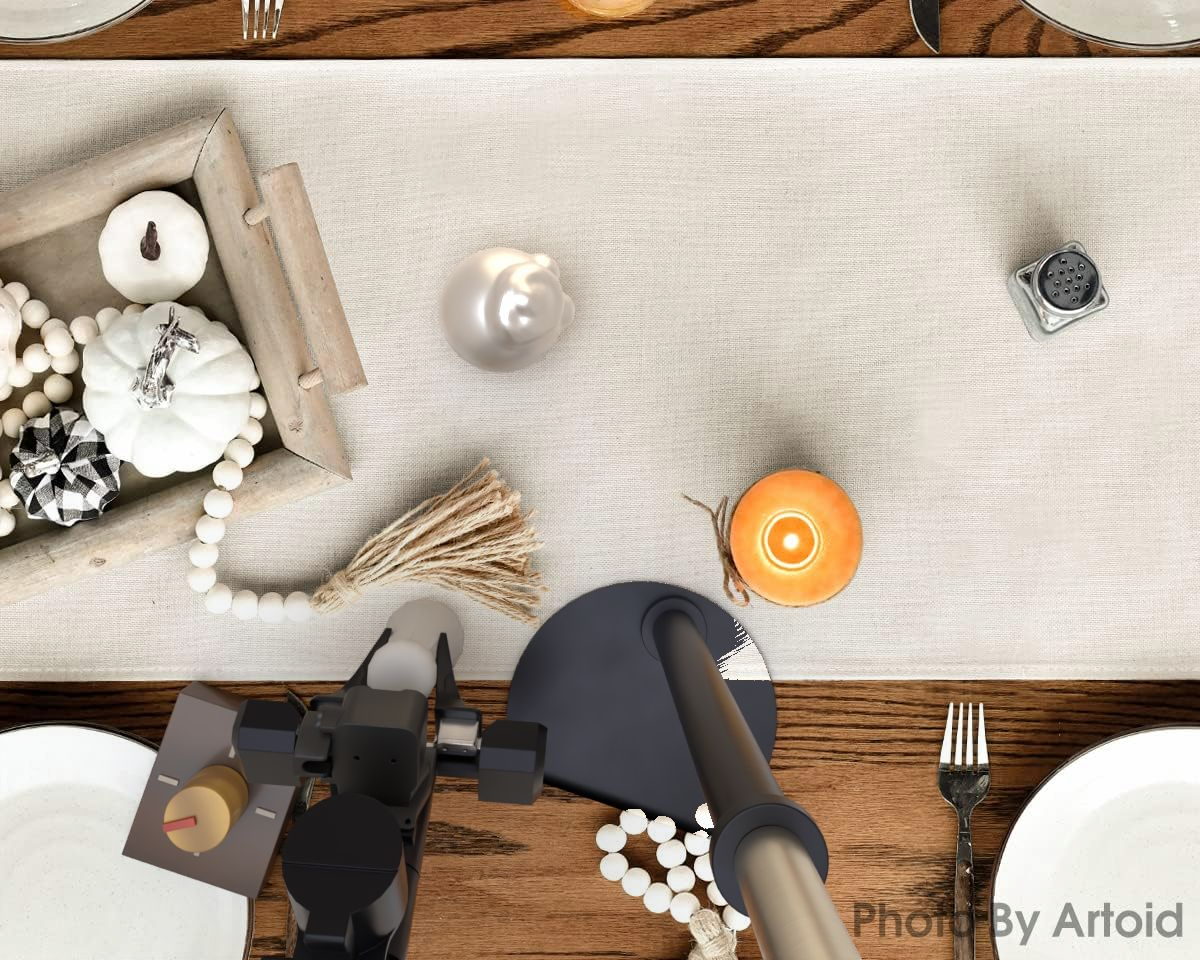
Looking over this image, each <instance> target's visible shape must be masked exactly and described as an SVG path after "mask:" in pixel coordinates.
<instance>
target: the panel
mask: <svg viewBox="0 0 1200 960" xmlns="http://www.w3.org/2000/svg"><path fill="white" fill-rule="evenodd" d="M247 699H249V698H247V697H244V696H241V695H239V694H235V693H233V692H230V691H227V690H225V689H221V688H218V687H215V686H212V685H211V684H210V685H209V684H208V683H207V684H206V683H203V682H200V681H198V680H193V681H192V682H190V683H189V684H188V685H187V686H185V687H184V688H182V689H181V690H180V691H179V692H178V694H177V697H176V701H175V703H174V706H173V709H172V712H171V714H170V717H169V720H168V722H167V725H166V728H165V731H164V734H163V737H162V740H161V742H160V745H159V748H158V750H157V754H156V756H155V758H154V762H153V764H152V768H151V770H150V773H149V776H148V779H147V782H146V784H145V787H144V790H143V793H142V796H141V798H140V801H139V804H138V807H137V810H136V812H135V815H134V819H133V821H132V823H131V826H130V829H129V832H128V835H127V838H126V840H125V844H124V846H123V848H122V852H121V855H122V856H124V857H126V858H130V859H132V860H136V861H139V862H141V863H144V864H146V865H147V864H148V865H151V866H153V867H156V868H159V869H161V870H165V871H168V872H171V873H174V874H176V875H181V876H184V877H186V878H189V879H191V880H195V881H198V882H201V883H203V884H207V885H211V886H213V887H215V888H219V889H222V890H225V891H228V892H231V893H234V894H236V895H239V896H243V897H245V898H248V899H252V900H255V901H257V899H259V897H260V896H261V893H262V892H263V890H264V888H265V887H266V885H267V883H268V882H269V881H270V878H271V875H272V871H273V869H274V867H275V864H276V861H277V858H278V855H279V853H280V849H281V846H282V843H283V841H284V838H285V835H286V832H287V830H288V826H289V824H290V821H291V818H292V815H293V812H294V810H295V807H294V806H296V804H295V803H297V801H298V798H299V795H300V792H301V790H300V788H301V789H302V787H294V786H282V785H269V784H257V783H248V782H247V780H246V779H245V777H244V776H243V774H242V772H241V770H240V767H239V764H238V761H237V758H236V755H235V751H234V748H233V745H232V742H231V739H232V729H233V725H234V722H235V719H236V715H237V712H238V709H239V706H240V703H241V702H243V701H245V700H247ZM303 719H304V716H301V724H302V721H303ZM301 724H300V727H301ZM299 730H300V728H299ZM214 765H221V766H226V767H229V768H231V769H233V770H235V771H236V772H238V773H239V774H240V775H241V777H242V778H243V779H244V781H245V783H246V785H247V789H248V804H247V807H246V810H245V812H244V813H243V815H242V816H241V817H240V819H239V820H238V821H237V823H236V824H235V825H234V826H233V828H232V829H231V830H230V832H229V833H228V834H227V835H226V837H225V838H224V839H223V841H222V842H221V843H220V844H219V845H217V846H216V847H214V848H213V849H211V850H208V851H205V852H200V853H193V852H188V851H185V850H182V849H180V848H179V847H177V846H176V845H175V844H174V843H173V842H172V841H171V840H170V838H169V837H168V835H167V833H166V832H165V833H164V830H163V824H164V814H165V810H166V807H167V805H168V803H169V801H170V800H171V799H172V798H173V797H174V795H175V794H176V793H177V792H178V791H179V790H180V789H181V788H182V787H183V786H184V785H185V784H186V783H187V782H188V781H189V780H190V779H191V778H192V777H193V776H194V775H195V774H196V773H197V772H199V771H200V770H202V769H204V768H206V767H209V766H214ZM299 791H300V792H299ZM298 794H299V795H298ZM297 797H298V798H297ZM296 800H297V801H296Z"/></svg>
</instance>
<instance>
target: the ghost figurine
mask: <svg viewBox="0 0 1200 960" xmlns="http://www.w3.org/2000/svg"><path fill="white" fill-rule="evenodd" d="M560 278H561V270H560V267H559V265H558V263H557V262H556V261H555V260H554V259H553V258H552V257H551V256H550V255H548V254H547V253H543V252H537V253H536V252H535V253H529V252H526V251H523V250H521V249H517V248H512V247H503V246H502V247H501V246H498V247H490V248H485V249H481V250H479V251H476V252H474V253H471V254H470V255H468V256H467V257H465V258H464V259H462V260H461V261H459V263H458V264H456V266H455V267H454V268H453V269H451V271H450V273H449V274H448V276H447V277H446V279H445V280H444V283H443V285H442V287H441V290H440V294H439V299H438V306H437V307H438V310H437V311H438V312H437V313H438V321H439V326H440V329H441V332H442V334H443V337H444V338H445V341H446V342H447V344H448V345H449V347H450V348H451V349H452V351H453V352H454V353H455V354H456V355H457V356H458V357H459V358H460V359H462V360H463V361H464V362H466V363H467V364H469V365H471V366H473V367H475V368H477V369H480V370H483V371H486V372H490V373H491V372H492V373H501V374H502V373H512V372H517V371H521V370H524V369H526V368H528V367H530V366H533V365H534V364H536V363H537V362H539V361H540V360H541V359H543V357H546V355H547V354H549V351H551V349H552V348H553V346H554V345H555V344H556V342H557V340H558V338H559V336H560V333H562V331H563V330H564V329H567V328H568V327H569V326H570V325H571V324H572V323H573V321H574V319H575V317H576V316H575V315H576V309H575V302H574V300H573V299H572V297H571V296H569V294H567V293H566V292H564V289H563V287H562V285H561V283H560Z"/></svg>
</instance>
